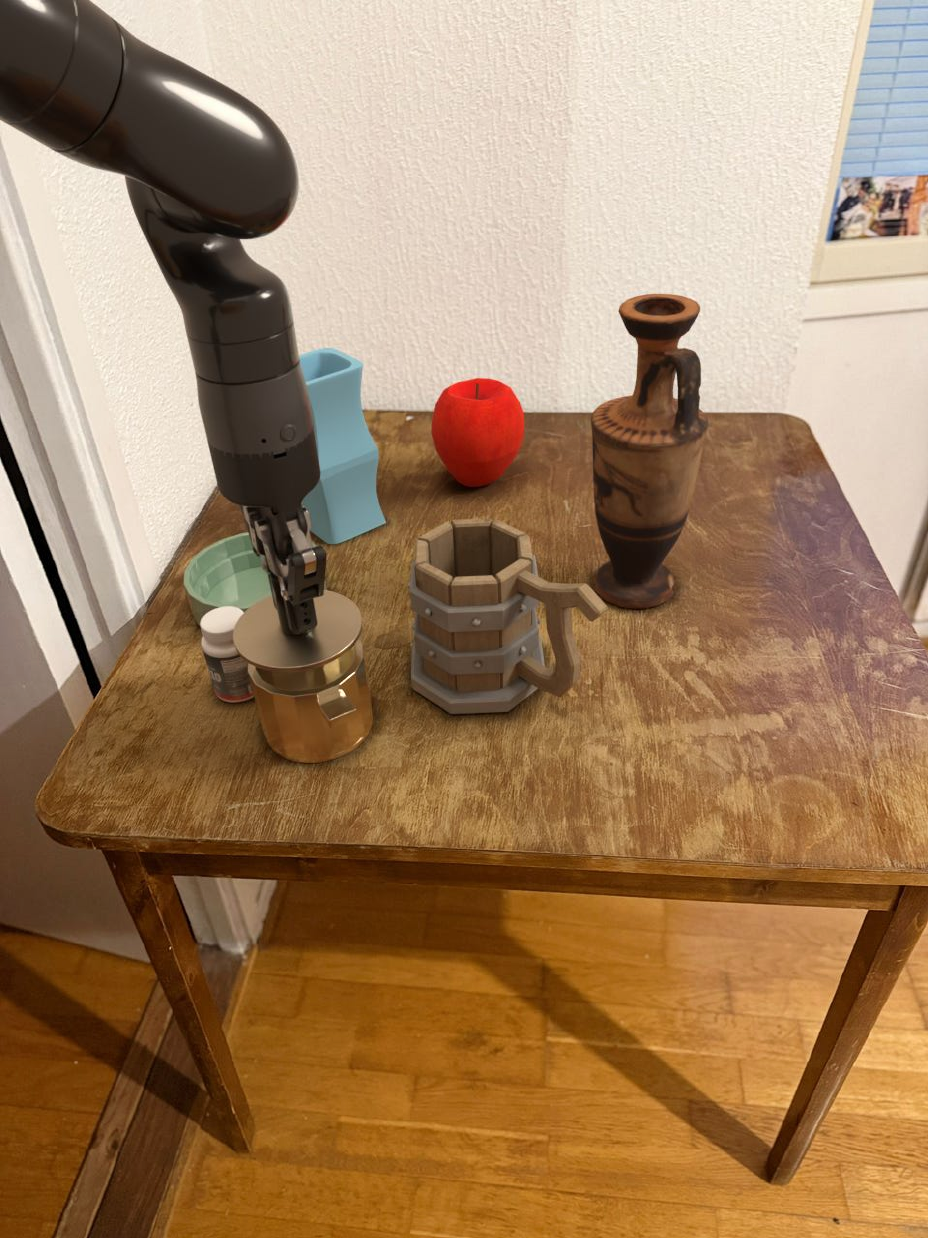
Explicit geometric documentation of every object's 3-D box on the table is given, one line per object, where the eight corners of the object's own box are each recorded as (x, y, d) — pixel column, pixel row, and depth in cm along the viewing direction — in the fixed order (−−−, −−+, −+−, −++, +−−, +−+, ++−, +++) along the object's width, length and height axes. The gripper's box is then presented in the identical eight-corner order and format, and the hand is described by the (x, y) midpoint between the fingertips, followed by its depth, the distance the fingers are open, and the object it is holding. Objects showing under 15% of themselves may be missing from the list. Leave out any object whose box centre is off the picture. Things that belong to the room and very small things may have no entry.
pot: (300, 800, 74) (284, 732, 69) (240, 695, 84) (222, 629, 79) (404, 753, 77) (396, 685, 72) (335, 658, 88) (323, 593, 83)
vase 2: (562, 579, 97) (571, 303, 78) (638, 547, 101) (663, 278, 83) (628, 630, 89) (655, 338, 71) (706, 593, 94) (751, 308, 75)
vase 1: (297, 521, 109) (268, 364, 97) (351, 498, 113) (329, 345, 100) (331, 547, 104) (305, 385, 92) (386, 523, 108) (368, 364, 95)
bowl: (217, 660, 88) (207, 625, 86) (177, 589, 98) (167, 556, 96) (348, 612, 94) (343, 577, 91) (298, 549, 104) (292, 516, 101)
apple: (495, 514, 108) (492, 412, 100) (416, 491, 113) (407, 393, 105) (540, 472, 116) (541, 374, 108) (464, 453, 121) (459, 358, 113)
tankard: (385, 673, 86) (369, 543, 76) (475, 612, 93) (469, 487, 83) (544, 777, 74) (547, 639, 65) (632, 699, 81) (646, 565, 72)
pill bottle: (210, 680, 86) (190, 612, 81) (257, 665, 87) (241, 597, 82) (221, 710, 83) (200, 641, 77) (270, 694, 84) (253, 625, 79)
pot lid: (261, 695, 69) (245, 629, 65) (218, 624, 76) (201, 560, 72) (384, 648, 73) (377, 582, 69) (332, 584, 80) (322, 522, 76)
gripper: (179, 404, 66) (225, 591, 77) (241, 480, 56) (284, 682, 67) (274, 381, 69) (306, 564, 80) (348, 449, 59) (373, 648, 70)
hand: (296, 617), depth 73 cm, fingers closed on pot lid, 3 cm apart
